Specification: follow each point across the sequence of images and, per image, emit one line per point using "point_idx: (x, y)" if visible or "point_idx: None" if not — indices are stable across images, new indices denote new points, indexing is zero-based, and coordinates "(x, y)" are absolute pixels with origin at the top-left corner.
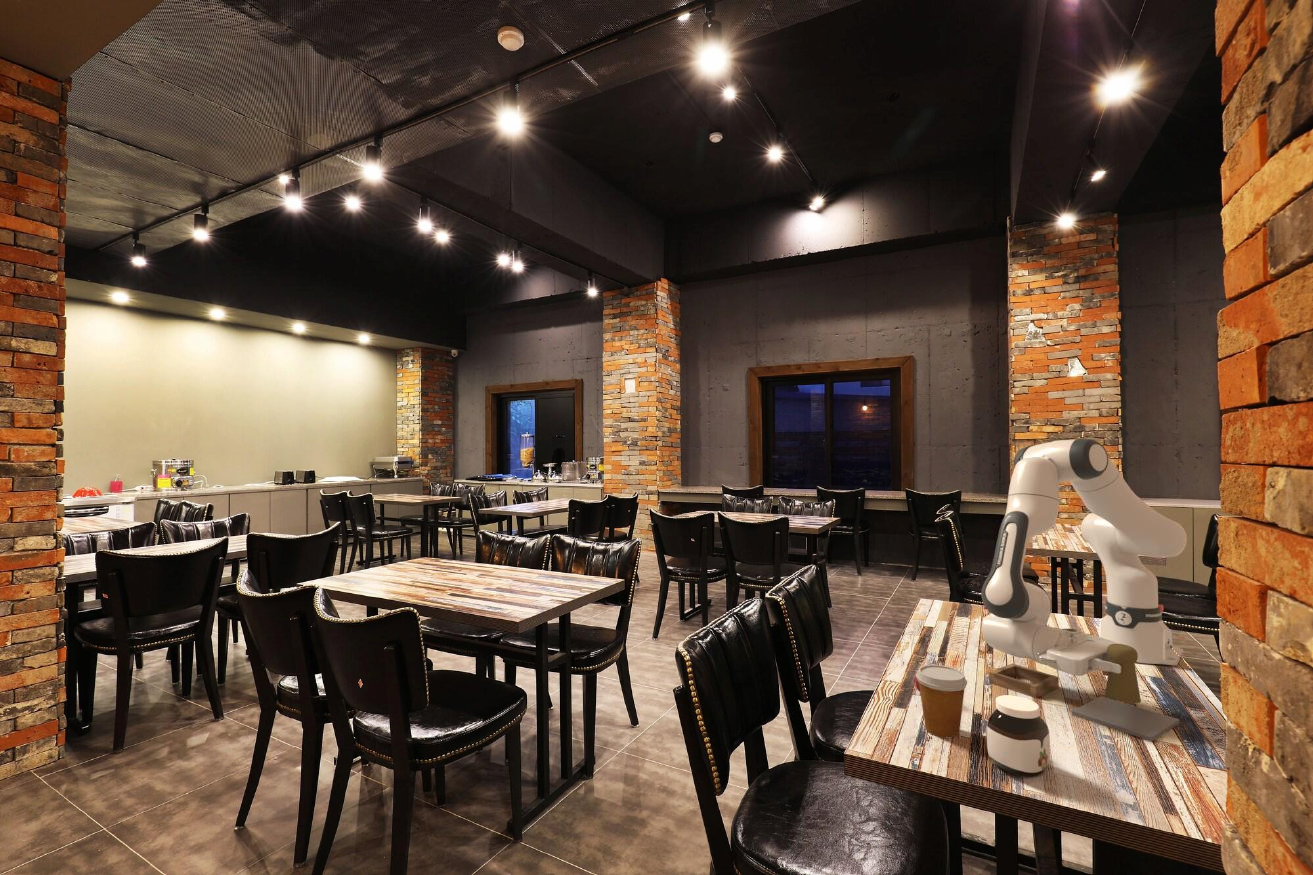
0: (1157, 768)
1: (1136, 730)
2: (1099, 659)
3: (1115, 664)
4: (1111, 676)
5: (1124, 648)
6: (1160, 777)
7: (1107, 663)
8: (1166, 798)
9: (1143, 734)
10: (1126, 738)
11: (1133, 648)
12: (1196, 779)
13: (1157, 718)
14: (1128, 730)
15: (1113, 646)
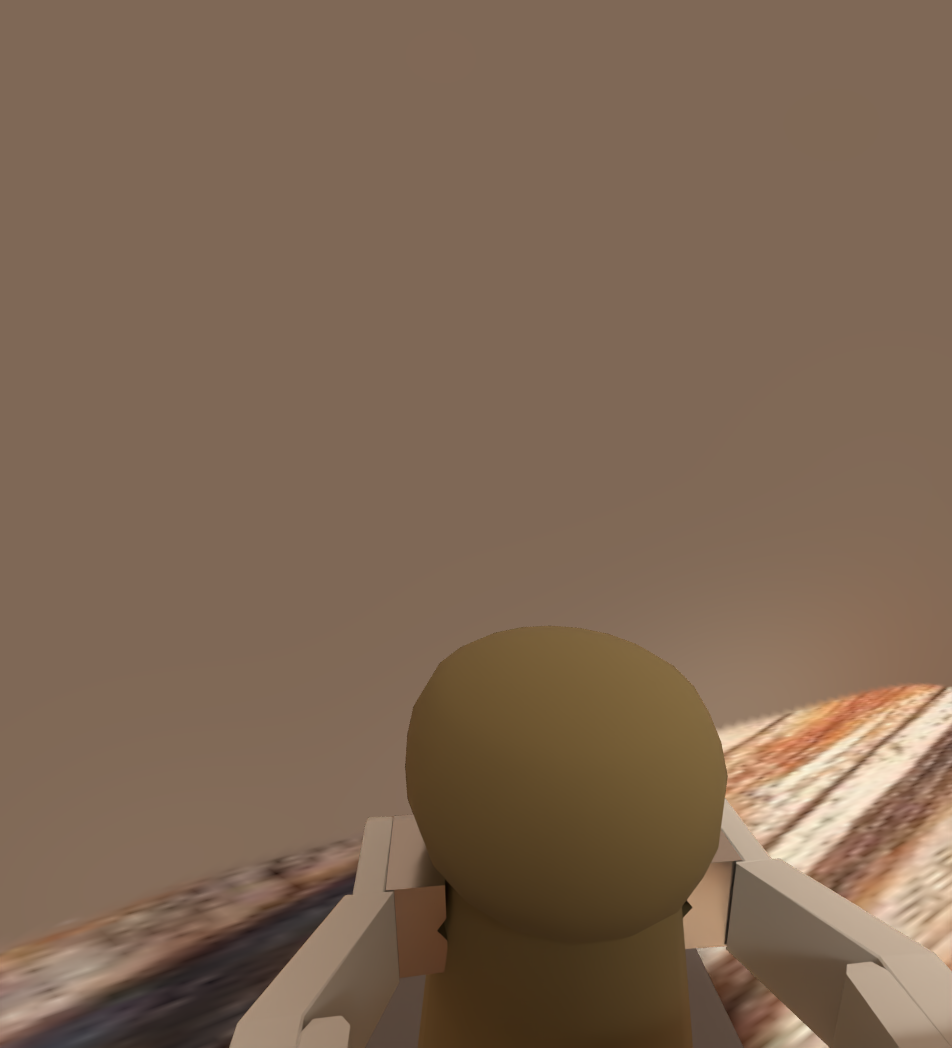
0: (852, 820)
1: (693, 1005)
2: (876, 979)
3: (736, 815)
4: (689, 1035)
5: (618, 639)
6: (886, 794)
7: (805, 883)
8: (949, 748)
9: (696, 954)
10: (803, 1029)
11: (500, 633)
12: (761, 752)
13: (384, 1030)
14: (738, 1046)
15: (677, 699)
